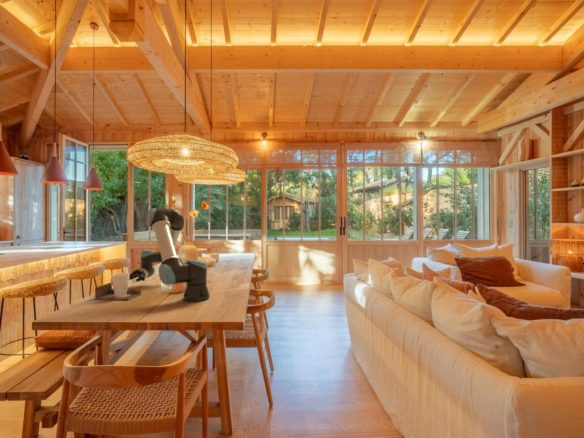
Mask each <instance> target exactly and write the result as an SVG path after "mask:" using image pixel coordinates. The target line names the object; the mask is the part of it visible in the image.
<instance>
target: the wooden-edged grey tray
mask: <svg viewBox="0 0 584 438" xmlns="http://www.w3.org/2000/svg"><path fill="white" fill-rule="evenodd" d="M112 287H113V283H111V282H109V283H105V284H102V285H99V286H97V287H94V290H95V291H94V293H95V294H94V300H97V301H125V302H126V301H131V300H133V299H135V298H137V297H139V296H141V295H142V289H127V294H126V296H123V297H115V295H114V288H112Z"/></svg>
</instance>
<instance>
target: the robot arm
mask: <svg viewBox="0 0 584 438" xmlns="http://www.w3.org/2000/svg"><path fill="white" fill-rule="evenodd" d="M145 222H146V227H149V228H151V231H153V232H154V233H155V236H156V242H157V245H158V249H159V251H153V249H143V250H141V252H140V268H138V269H136V270H133V271H132V273H129V274H130V278H129V281H130V280H131V281H132V282H131V283H132V284H137V283H138V282H145V281H146V279H148V278H151V277H153V275H154V274H155V271H156V270H155V267H154V266H153V264H155V263H156V264H158V263H160V265H159V266H158V276H159V280H160V281H161V283H162V284H163V285H170V286H172V285H177V284H185V283H186V287H185V290H184V293H183V296H182V297H183V301H187V302H203V301H207V300H209V299H210V293H209V289H208V286H207V284H208V283H207V281H208V280H207V276H208V273H207V272H208V267H207V266H208V265H207V262H206V261H205V260H199V259H187V260H186V262H183V261H182V259H181V257H178V254H177V251H176V244H177V242H178V238H179V236H180V233H181V231H183V229H184V227H185V218H184V215H183V213H182V212H180V211H179V210H178V209H176V208H157V207H155V208H154V207H153V208H152V207H151V208H150V209H148V211H147V214H146V221H145ZM110 283H112V284H113V281H112V277H111V278H110Z"/></svg>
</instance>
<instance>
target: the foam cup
mask: <svg viewBox="0 0 584 438" xmlns="http://www.w3.org/2000/svg"><path fill="white" fill-rule="evenodd" d="M130 274H131V273H129V272H119V273H116V272H115V273H112V274H111V278H112V281H113V283H112V287H113V288H112V289H114V295H115V297H123V296H126V294H127V290H128V289H129V287H128V286H129V281H130V280H129V278H130Z"/></svg>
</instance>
